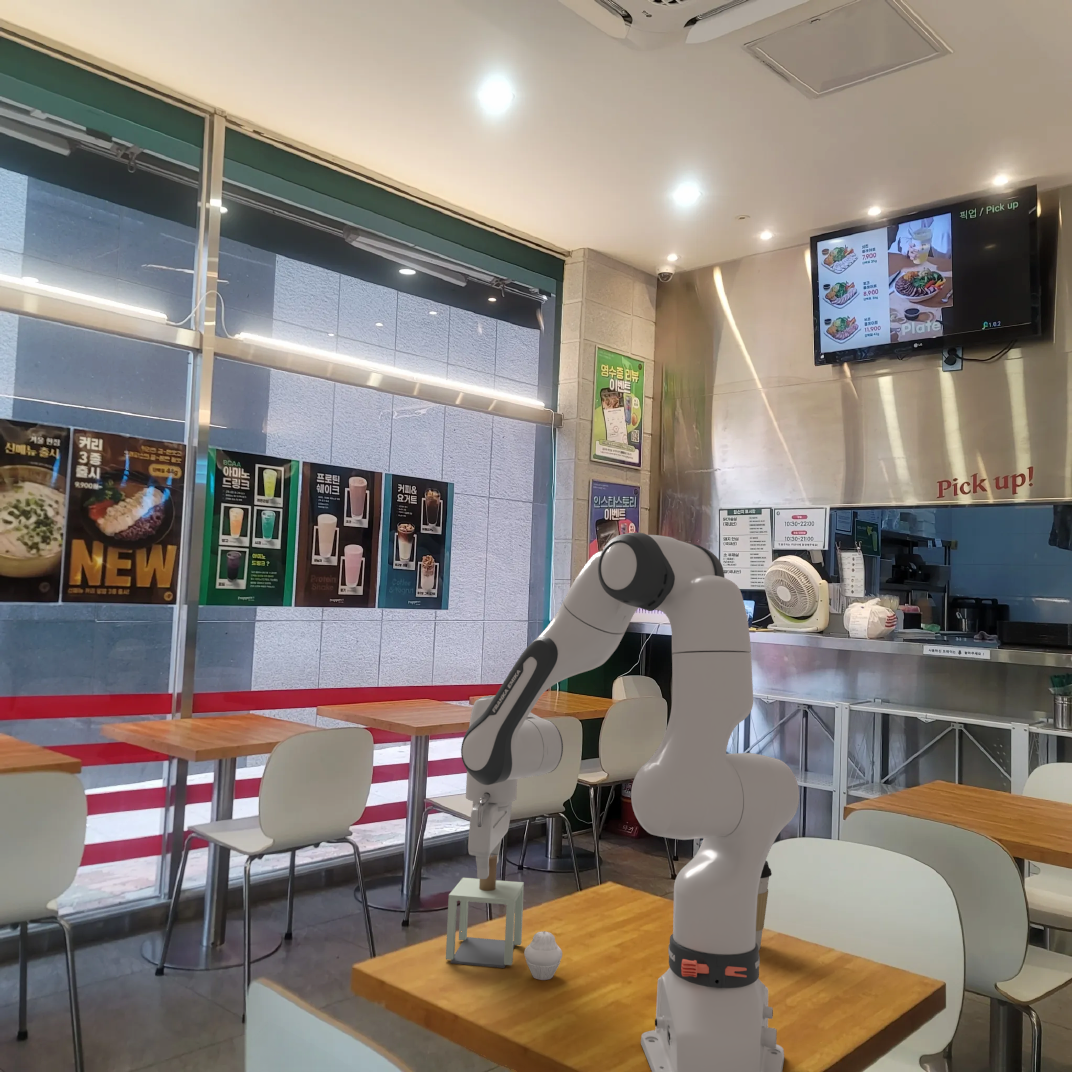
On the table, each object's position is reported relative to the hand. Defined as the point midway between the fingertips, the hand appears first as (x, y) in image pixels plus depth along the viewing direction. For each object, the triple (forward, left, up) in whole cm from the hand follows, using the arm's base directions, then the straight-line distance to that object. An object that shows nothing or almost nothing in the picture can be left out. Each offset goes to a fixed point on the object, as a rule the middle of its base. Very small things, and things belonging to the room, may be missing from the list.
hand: (487, 871), depth 158 cm
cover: (0, 0, -13) cm, 13 cm away
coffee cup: (+15, -44, -14) cm, 49 cm away
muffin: (-8, -11, -14) cm, 19 cm away
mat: (0, 0, -14) cm, 14 cm away
